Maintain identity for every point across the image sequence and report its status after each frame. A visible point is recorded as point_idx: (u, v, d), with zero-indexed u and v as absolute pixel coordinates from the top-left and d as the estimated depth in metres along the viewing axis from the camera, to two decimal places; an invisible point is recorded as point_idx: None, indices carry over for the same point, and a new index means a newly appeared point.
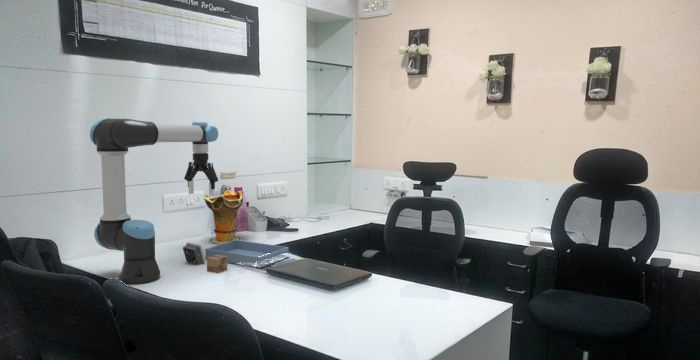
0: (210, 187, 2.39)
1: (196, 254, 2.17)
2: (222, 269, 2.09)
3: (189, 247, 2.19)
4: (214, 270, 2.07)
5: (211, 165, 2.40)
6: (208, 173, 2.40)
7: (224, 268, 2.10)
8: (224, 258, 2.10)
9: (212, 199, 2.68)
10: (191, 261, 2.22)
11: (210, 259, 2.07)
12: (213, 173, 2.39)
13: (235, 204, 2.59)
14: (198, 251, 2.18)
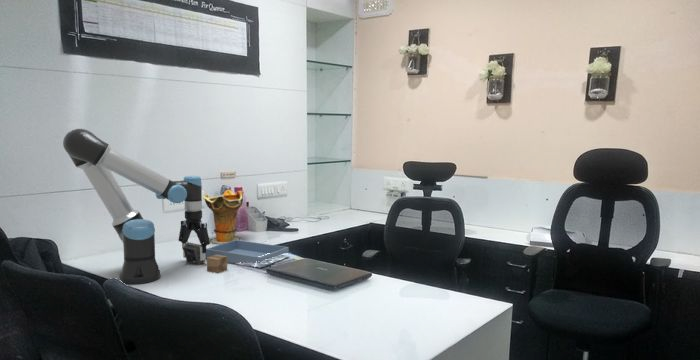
0: (201, 251, 2.17)
1: (196, 254, 2.17)
2: (222, 269, 2.09)
3: (189, 247, 2.19)
4: (214, 270, 2.07)
5: (205, 226, 2.17)
6: (200, 234, 2.18)
7: (224, 268, 2.10)
8: (224, 258, 2.10)
9: (212, 199, 2.68)
10: (191, 261, 2.22)
11: (210, 259, 2.07)
12: (205, 235, 2.16)
13: (235, 204, 2.59)
14: (198, 251, 2.18)
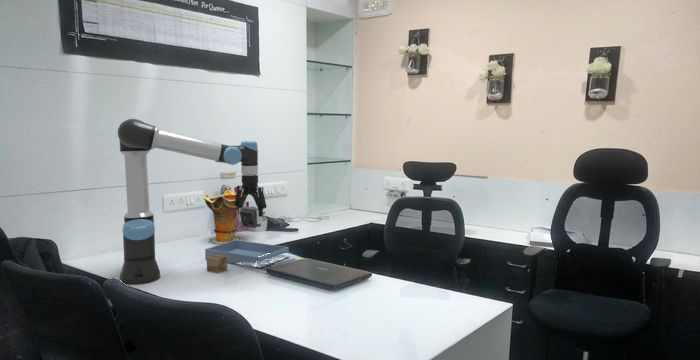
0: (258, 214, 2.22)
1: (253, 217, 2.22)
2: (222, 269, 2.09)
3: (246, 211, 2.23)
4: (214, 270, 2.07)
5: (262, 190, 2.21)
6: (257, 198, 2.22)
7: (224, 268, 2.10)
8: (224, 258, 2.10)
9: (212, 199, 2.68)
10: (247, 225, 2.27)
11: (210, 259, 2.07)
12: (262, 199, 2.21)
13: None
14: (255, 215, 2.23)
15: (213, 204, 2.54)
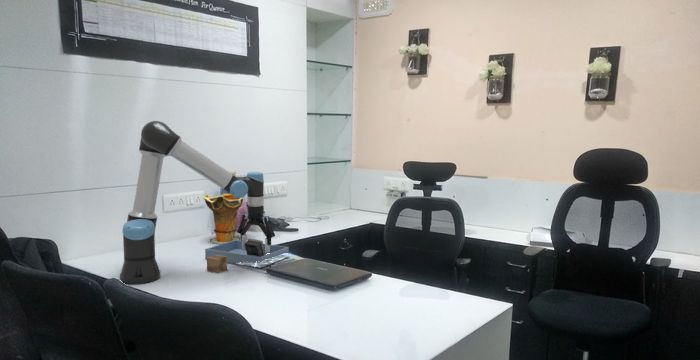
0: (266, 243, 2.23)
1: (258, 250, 2.24)
2: (222, 269, 2.09)
3: (251, 243, 2.26)
4: (214, 270, 2.07)
5: (267, 219, 2.23)
6: (264, 227, 2.24)
7: (224, 268, 2.10)
8: (224, 258, 2.10)
9: (212, 199, 2.68)
10: None
11: (210, 259, 2.07)
12: (270, 228, 2.22)
13: (235, 204, 2.59)
14: (260, 247, 2.25)
15: (213, 204, 2.54)
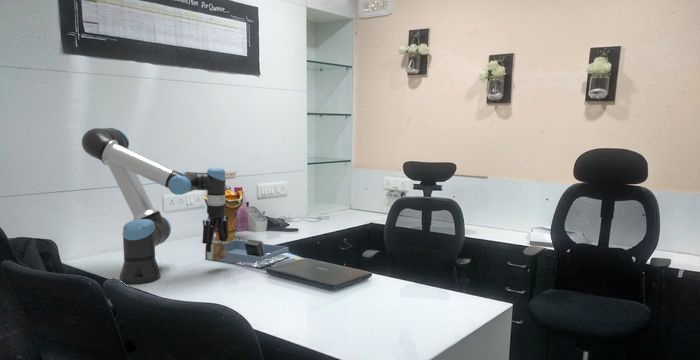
0: None
1: (258, 250, 2.24)
2: (221, 257, 2.08)
3: (251, 243, 2.26)
4: (213, 257, 2.06)
5: (205, 224, 2.02)
6: None
7: (223, 256, 2.09)
8: (223, 246, 2.09)
9: None
10: None
11: None
12: (204, 233, 2.03)
13: (235, 204, 2.59)
14: (260, 247, 2.25)
15: None
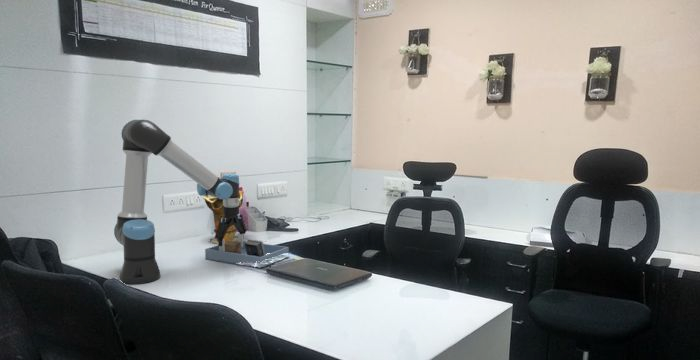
0: None
1: (258, 250, 2.24)
2: None
3: (251, 243, 2.26)
4: None
5: (221, 221, 2.26)
6: (223, 228, 2.28)
7: (238, 252, 2.34)
8: (238, 243, 2.34)
9: (212, 199, 2.68)
10: None
11: (226, 244, 2.31)
12: (218, 229, 2.25)
13: None
14: (260, 247, 2.25)
15: (213, 204, 2.54)
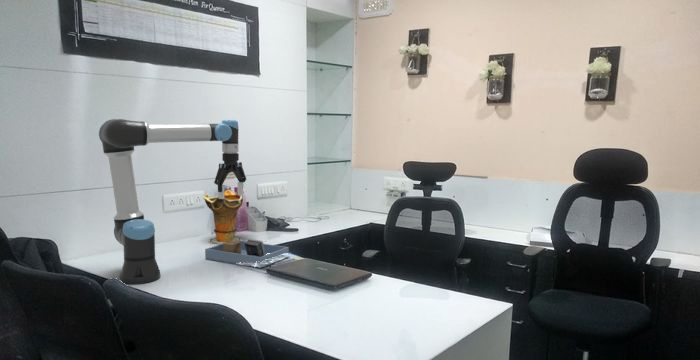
0: None
1: (258, 250, 2.24)
2: None
3: (251, 243, 2.26)
4: None
5: (220, 166, 2.24)
6: None
7: (238, 252, 2.34)
8: (238, 243, 2.34)
9: (212, 199, 2.68)
10: None
11: (226, 244, 2.31)
12: (217, 175, 2.23)
13: (235, 204, 2.59)
14: (260, 247, 2.25)
15: (213, 204, 2.54)
